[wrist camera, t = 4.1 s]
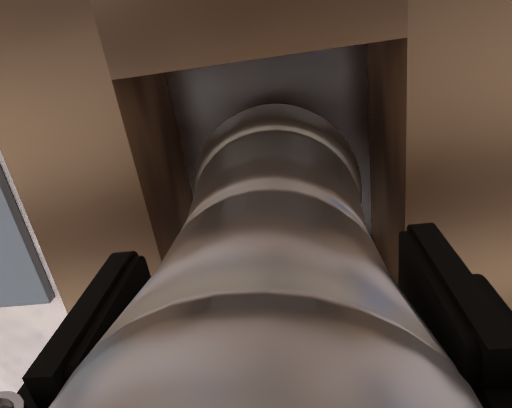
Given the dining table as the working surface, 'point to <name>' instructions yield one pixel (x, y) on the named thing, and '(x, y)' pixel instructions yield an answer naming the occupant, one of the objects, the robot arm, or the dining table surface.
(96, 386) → the plastic bottle
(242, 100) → the dining table surface
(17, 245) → the pad
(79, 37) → the bore block
